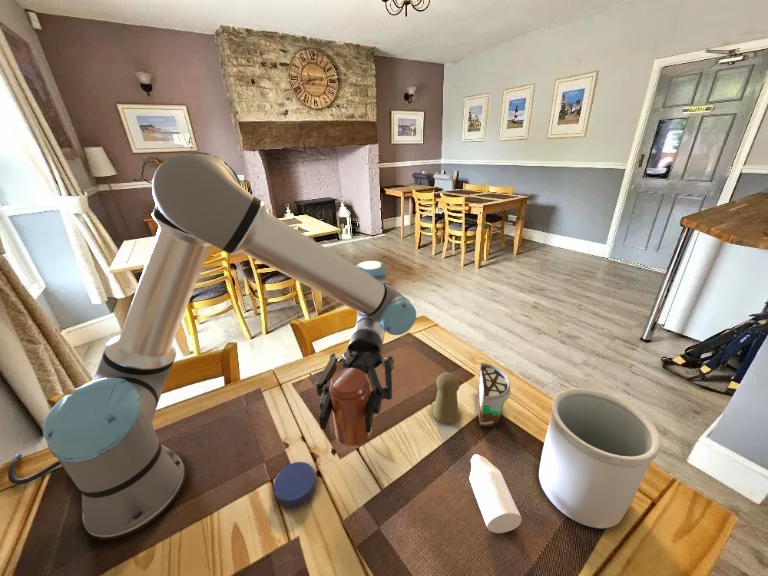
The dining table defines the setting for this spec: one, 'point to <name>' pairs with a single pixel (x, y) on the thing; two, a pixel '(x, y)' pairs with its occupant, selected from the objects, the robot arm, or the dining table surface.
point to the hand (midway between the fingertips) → (344, 424)
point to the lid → (295, 484)
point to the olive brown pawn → (446, 398)
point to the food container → (491, 394)
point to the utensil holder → (595, 455)
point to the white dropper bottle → (493, 496)
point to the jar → (350, 405)
